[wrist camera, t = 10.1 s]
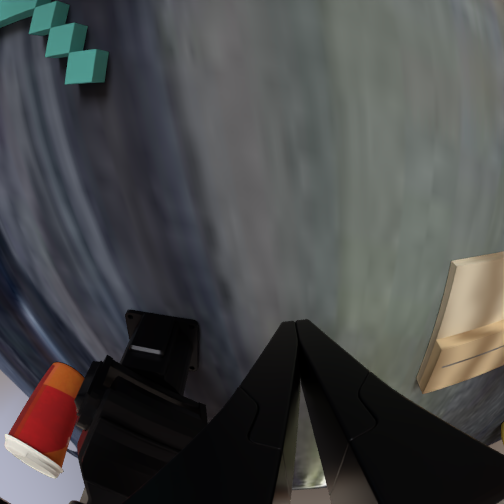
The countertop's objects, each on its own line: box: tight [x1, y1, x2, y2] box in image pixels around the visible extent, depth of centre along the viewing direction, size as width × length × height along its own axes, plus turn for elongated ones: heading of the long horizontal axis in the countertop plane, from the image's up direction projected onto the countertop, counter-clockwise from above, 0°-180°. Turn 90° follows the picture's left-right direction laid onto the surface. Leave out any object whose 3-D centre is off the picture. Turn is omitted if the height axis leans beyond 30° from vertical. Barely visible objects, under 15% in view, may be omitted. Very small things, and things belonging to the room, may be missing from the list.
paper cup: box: [5, 362, 85, 478], centre depth 24 cm, size 8×8×14 cm
